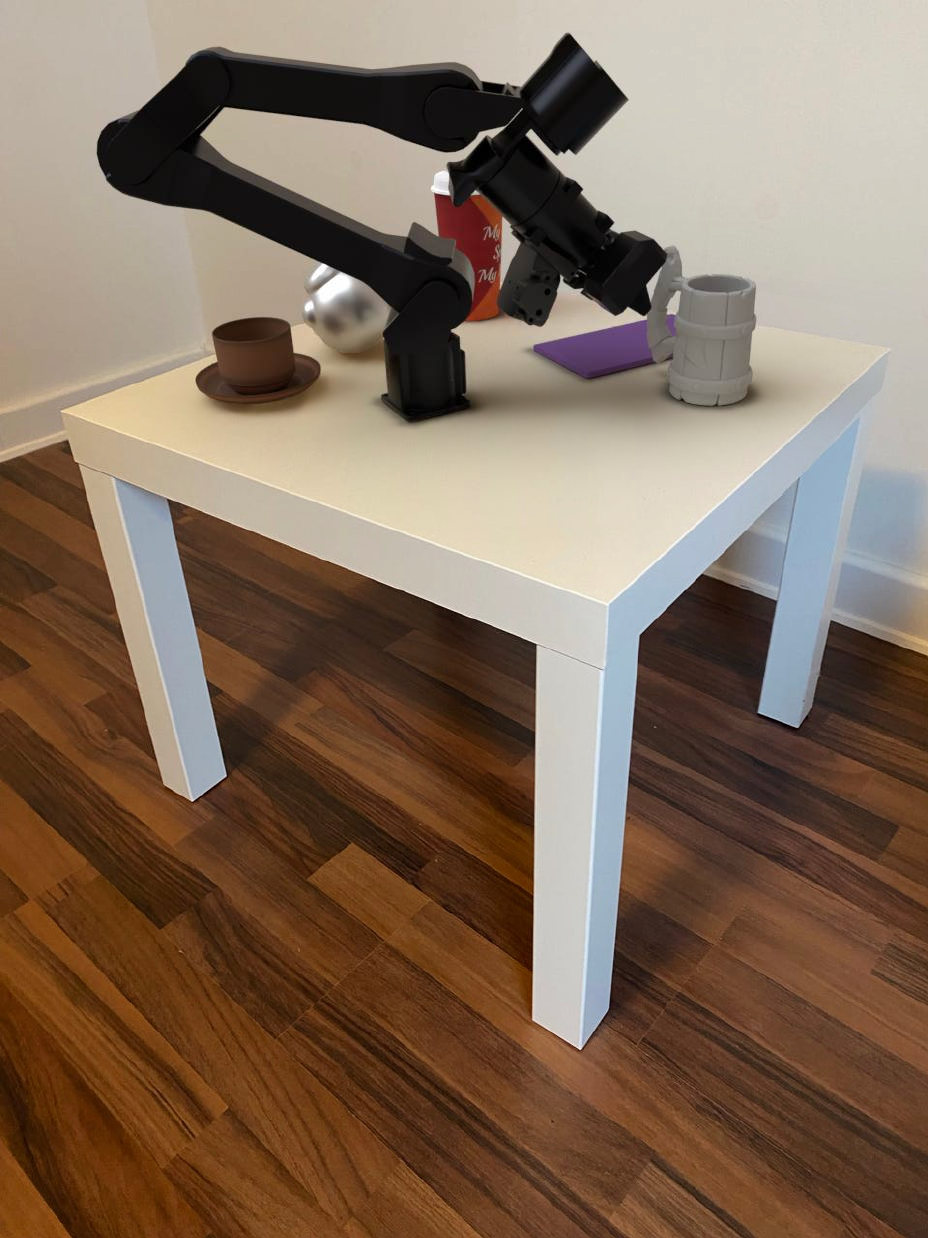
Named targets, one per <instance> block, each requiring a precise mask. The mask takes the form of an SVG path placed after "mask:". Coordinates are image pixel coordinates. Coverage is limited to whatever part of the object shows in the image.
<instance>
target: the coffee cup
mask: <svg viewBox="0 0 928 1238" xmlns="http://www.w3.org/2000/svg"><path fill="white" fill-rule="evenodd" d="M448 185H449V173H448V170H447V169H445V170H441V171H439V172H436V173H435V174H434V176H433V185H431V187H430V192H432V193H433V196H434V206H435V207H434V208H435V214H436V215H435V216H436V224H437V233H438V235H437V236H439V237H442V238H445V239H455V240H456V244H455V248H456V249H458V250H459V251H461V252H462V253H464V254H465V255H466V257H467V258H468V259H469V261H470V263H471V266H472V268H473V271H474V278H475V285H474V294H473V303H472V307H471V310H470V313H469V315H468V316H467V318H466V319H465V321H464V322H476V321H477V322H478V321H484V320H489V319H492V318H495V317H496V316H497V315H498V314H499V312H500V309H499V308H498V306H497V297H498V294H499V291H500V289H501V272H502V271H501V270H502V245H503V244H502V243H503V241H502V240H503V216H502V215H501V214H500V213H498V212H497V211H496V210H495V209H494V208H493V207H492V206H491V205H490V204H489V203H488V202H487V201H486V200H485V199H484V198H483V197H482V196H481V195H480V194H479V193H478V192H477V191H476V190H475V191H474V192H473V193H472V194H471V196H470V197H469V198H468V199H467V200H466V201H465V202H464V203H463V204H462V205H461V206H460V207H455V206H454V205H453V202H452V199H451V196H450V193H449V190H448Z"/></svg>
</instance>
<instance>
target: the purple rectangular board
mask: <svg viewBox="0 0 928 1238" xmlns="http://www.w3.org/2000/svg"><path fill="white" fill-rule="evenodd" d="M674 321H675V314H674V313H669V314H667V319H666V322H667V326H668V327H669V330H670V332H671V334H672V336H673V337H675V336H676V329H675V328H674ZM533 351H534V352H536V353H538V354H540V355H541V356H544V357H545V358H548V359H549V360H551V361H553V362H555V363H556V364H558V365H560V366H562V367H564V368H565V369H568V370H570V371H572V372H574V373H576V374H578V375H579V376H582V377H583V378H585V379H587V380H588V379H593V378H596V377H601V376H604V375H608V374H613V373H617V372H621V371H626V370H629V369H633V368H636V367H642V366H645V365H649V364H654V363H655V362H654V361H653V356H652V351H651V348H649V347H648V342H647V319H642V320H638V321H633V322H629V323H625V324H624V323H623V324H621V325H616V326H611V327H606V328H603V329H602V328H601V329H598V330H594V331H589V332H585V333H579V334H575V335H571V336H567V337H563V338H559V339H554V340H548V341H545V342H541V343H535V344H533ZM669 359H673V353H672V354H670V355H669V356H668V357H667V358H666V359H665V360H664V361H666V360H669Z"/></svg>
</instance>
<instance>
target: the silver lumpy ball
mask: <svg viewBox="0 0 928 1238" xmlns="http://www.w3.org/2000/svg"><path fill="white" fill-rule="evenodd" d="M303 288H304V290H305V292H306V293H307V296H306V298H305V299H304V302H303V304H302V307H301V317H302V320H303V322H304V323H305V325H306V326H308V327H309V328H311V329H312V331H313V332H314V334H315V335H316V336H317V337H318V338H319V339H320V341H322V343H323V344H324V345H325V346H326V347H328V348H330V349H331V350H334V351H337V352H340V353H344V354H359V353H364V352H366V351H369V350H371V349H373V348H374V347H376V346H377V345H378V344H379V343H380V342H382V341H383V339H384V337H383V330H384V327H385V324H386V321H387V319H388V316H389V313H390V310H391V307H390V306H389V305H388V304H387V303H386V302H385V301H384V300H383V299H382V298H381V297H380V296H379V295H378V294H377V293H375V292H374V291H373V290H372V289H371V288H370V287H369V286H368V285H366V284H365V283H364V282H362V281H360V280H358V279H356V278H353V277H351V276H349V275H347V274H345V273H342V272H340V271H338V270H336V269H334V268H331V267H329V266H327V265H325V264H323V263H320V262H318V261H316V262H315V264H314V265H313V266H312V269H311V271H310V273H309V275H308V276H306V278H304V281H303Z"/></svg>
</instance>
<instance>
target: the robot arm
mask: <svg viewBox="0 0 928 1238" xmlns="http://www.w3.org/2000/svg"><path fill="white" fill-rule="evenodd" d="M629 100H630V99H629V98H628V97H627V95H626V94H625V93H624V92H623V91H622V89H621V88H620V87H619V86H618V85H617V83H616V82H615V81H614V80H613V78H612V77H611V76H610V75H609V74H608V72H607V71H606V70H605V68H603V66H602V65H601V64H600V63H599V62H598V60H596V59H595V60H593V59H592V58H591V56H590V55H589V54H588V53H587V52H586V51H585V49H584V48H583V47H582V46H581V45H580V43H579V42H578V41H577V39H576V38H574V36H573V34H572V33H571V32H565V33H564V34H563V35H562V36H561V37H560V39H558V40H557V42H556V43H555V45H554V46H553V47H552V50H551V51H550V54H549V55H548V56H547V57H546V58H545V60H544V61H543V62H542V63H541V64H540V65H539V66H538V67H537V69H535V71H534V72H533V73H532V74H531V75H530V76H529V77H528V79H526V81H525V82H524V83H523V84H522V85H521V86H519V85H515V84H514V85H513V84H510V82H508V81H507V82H506V83H500V82H493V81H486V80H481V79H480V78H479V76H478V75H477V73H476V72H475V71H474V70H473V69H472V68H471V67H469V66H467V65H466V64H462V63H460V62H456V61H447V62H434V63H433V62H432V63H420V64H419V63H418V64H409V65H408V64H407V65H401V66H394V67H393V66H392V67H383V68H381V67H380V68H364V67H356V66H348V65H343V64H342V65H341V64H333V63H325V62H317V61H309V60H300V59H292V58H284V57H277V56H268V55H262V54H261V55H260V54H253V53H244V52H239V51H238V52H236V51H233V50H230V49H228V48H226V47H223V46H211V47H207V48H204V49H201V50H198V51H197V52H194V53H193V54H191V55H190V56H189V58H188V59H187V60H186V62H185V64H184V66H183V67H182V68H181V70H179V71H178V73H176V74H175V76H174V77H173V78H171V80H170V81H168V82H167V83H166V84H165V85H164V86H163V87H162V88H161V89H160V90H159V91H158V92H157V93H155V95H154V96H152V97H151V98H150V99H149V100H148V101H147V102H146V103H145V104H144V105H143V106H142V107H141V108H140V109H138V110H136V111H133V112H131V113H129V114H126V115H124V116H121V117H119V118H117V119H115V120H112V121H111V122H108V123H107V124H106V125H105V127H103V128H102V129H101V131H100V133H99V136H98V139H97V141H96V157H97V161H98V166H99V168H100V170H101V171H102V173H103V175H104V178H105V181H106V182H107V183H108V185H110V186H111V187H112V188H113V189H114V190H116V191H118V192H119V193H121V194H123V195H125V196H128V197H131V198H135V199H138V200H142V201H146V202H151V203H154V204H158V205H161V206H165V207H174V208H181V209H190V210H199V211H203V212H208V213H210V214H213V215H215V216H217V217H219V218H221V219H224V220H226V221H228V222H230V223H233V224H235V225H237V226H239V227H241V228H244V229H246V230H247V231H250V232H253V233H255V234H256V235H259V236H261V237H264V238H265V239H268V240H270V241H272V242H275V243H277V244H278V245H281V246H283V247H285V248H288V249H290V250H292V251H294V252H297V253H299V254H301V255H303V256H305V257H307V258H309V259H311V260H314V261H316V262H317V261H318V262H320V263H323V264H325V265H327V266H329V267H331V268H334V269H336V270H338V271H340V272H342V273H345V274H347V275H349V276H351V277H353V278H356V279H358V280H360V281H362V282H364V283H365V284H366V285H368V286H369V287H370V288H371V289H372V290H373V291H374V292H375V293H377V294H378V295H379V296H380V297H381V298H382V299H383V300H384V301H385V302H386V303H387V304H388V305H389V306H390V307H391V310H390V313H389V316H388V319H387V321H386V324H385V327H384V330H383V339H382V345H383V346H382V347H383V355H384V366H385V367H384V369H385V378H386V379H385V380H386V389H387V392H385V393H382V394H381V395H380V400H381V401H382V402H383V403H384V404H385V405H387V407H389V408H391V409H392V410H393V411H394V412H396V413H397V414H398V415H400V416H401V417H402V418H404V419H405V420H406V421H408V422H414V421H418V420H422V419H423V420H424V419H426V418H430V417H435V416H439V415H444V414H446V413H447V414H448V413H451V412H454V411H459V410H462V409H467V408H470V407H471V406H472V401H471V399H469V398H468V397H466V396H464V395H466V394H467V390H468V389H467V388H468V386H467V366H466V365H467V364H466V362H467V361H466V351H464V349H462V348H461V336H460V335H458V334H457V333H455V332H453V331H452V330H454V329H457V328H458V327H459V326H460V325H462V324H463V323H464V322H466V321H465V319H466V318H467V316H468V315H469V313H470V310H471V307H472V303H473V294H474V285H475V278H474V271H473V268H472V266H471V263H470V261H469V259H468V258H467V257H466V255H465V254H464V253H462V252H461V251H459V250H458V249H456V248H455V244H456V240H455V239H445V238H442V237H439V235H437V234H434V232H432V231H430V230H429V229H428V228H426V227H424V226H423V225H422V224H420V223H417V222H415V221H413V222H411V225H410V228H409V230H408V233H407V236H405V235H397V234H389V233H385V232H381V231H379V230H377V229H375V228H374V227H373V228H372V227H371V226H369V225H367V224H364V223H362V222H361V221H357V220H356V219H354V218H351V217H349V216H347V215H345V214H343V213H341V212H339V211H336V210H334V209H332V208H329V207H328V206H326V205H323V204H321V203H319V202H317V201H316V200H313V199H310V198H309V197H306V196H304V195H302V194H300V193H297V192H295V191H293V190H291V189H289V188H287V187H285V186H282V185H281V184H278V183H276V182H274V181H272V180H270V179H269V178H266V177H263V176H262V175H260V174H257V173H256V172H253V171H251V170H249V169H247V168H245V167H242V166H240V165H238V164H236V163H233V162H232V161H230V159H227V158H226V157H225V156H224V155H223V154H221V152H220V151H218V149H216V147H214V145H212V144H211V143H210V142H209V141H208V140H206V139H205V137H203V135H202V134H203V133H204V132H205V131H206V130H207V128H209V126H210V125H211V124H212V123H213V121H215V119H217V117H218V116H219V115H220V114H221V113H222V111H223V110H225V108H227V109H234V110H241V111H243V110H244V111H251V112H260V113H268V114H276V115H283V116H292V117H300V118H306V119H314V120H315V119H317V120H324V121H331V122H332V121H333V122H340V123H348V124H355V125H356V124H357V125H363V126H367V127H370V128H374V129H376V130H379V131H382V132H384V133H386V134H388V135H391V136H393V137H396V138H398V139H400V140H402V141H405V142H408V143H411V144H415V145H418V146H421V147H424V148H427V149H429V150H433V151H436V152H440V153H446V154H448V153H458V152H459V151H462V150H464V149H465V148H467V147H468V146H469V145H471V144H472V143H473V142H474V141H475V140H476V139H477V137H478V136H479V134H480V133H482V132H486V131H491V130H495V129H500V128H503V127H504V128H503V129H502V130H501V131H499V132H498V133H497V134H495V135H494V136H493V137H491V136H490V135H488V134H486V135H485V136H484V137H483V138H482V139H481V140H480V141H479V142H478V143H477V145H476V146H475V147H474V148H473V149H472V150H471V151H470V153H468V155H467V156H466V157H465V158H463V159H462V160H458V161H448V162H447V163H446V165H445V167H446V170H448V173H449V185H448V190H449V193H450V196H451V199H452V202H453V205H454V206H455V207H460V206H461V205H462V204H463V203H464V202H465V201H466V200H467V199H468V198H469V197H470V196H471V194H472V193H473V192H474V191H475V190H476V191H477V192H478V193H479V194H480V195H481V196H482V197H483V198H484V199H485V200H486V201H487V202H488V203H489V204H490V205H491V206H492V207H493V208H494V209H495V210H496V211H497V212H498V213H500V214H501V215H502V218H503V219H504V220H506V222H507V223H508V224H510V226H509V228H510V229H511V230H512V231H511V232H510V234H511V235H512V236H513V237H514V238H515V239H516V240H517V241H518V242H519V245H518V247H517V248H516V249H517V250H516V252H515V254H514V256H512V259H511V260H510V263H509V266H508V268H507V271H506V273H505V276H504V278H503V280H502V284H501V285H500V291H499V294H498V297H497V306H498V308H499V310H500V311H502V312H503V313H504V314H505V315H507V316H508V317H509V318H512V319H515V320H517V321H521V322H524V324H527V325H528V326H531V327H532V326H535V327H538V328H542V327H544V326H545V325H546V323H547V321H548V319H549V317H550V314H551V312H552V309H553V307H554V305H555V302H556V300H557V297H558V290H559V288H560V285H561V278H562V282H563V284H565V285H567V286H568V287H570V288H571V289H573V290H581V291H580V292H579V293H580V294H581V295H582V296H584V297H585V298H587V299H588V300H590V301H592V302H593V301H594V302H595V303H596V304H597V305H598V306H600V307H601V308H602V309H603V310H605V311H607V312H608V313H609V314H611V315H612V316H615V317H617V316H619V315H621V314H624V312H625V311H626V310H627V309H628V308H629V309H630V310H632V311H634V312H635V313H637V314H638V315H640V316H642V317H647V313H648V312H649V311H650V310H651V308H652V305H651V298H650V295H649V290H648V287H647V285H648V284H649V283H650V281H651V280H652V279H653V278H654V277H655V276H656V274H657V273H658V272H659V271H660V270H661V269H662V266H663V265H664V263H665V262H666V259H667V255H668V254H667V253H666V252H665V251H664V248H663V247H662V246H661V245H660V244H659V242H657V241H656V240H655V239H654V238H652V237H650V236H648V235H646V234H644V233H642V232H640V231H637V230H629V231H621V232H617V231H615V230H613V229H611V228H612V227H613V225H614V224H615V221H614V220H613V219H612V218H611V217H610V216H609V214H607V213H605V212H604V211H601V210H597V209H596V207H595V206H594V205H593V204H592V202H590V201H589V200H588V199H587V198H586V197H585V196H584V195H583V194H582V192H583V191H584V188H583V187H582V186H581V184H580V183H579V182H578V181H576V180H575V179H572V178H570V177H567V176H566V175H565V174H564V173H563V172H562V171H561V170H560V169H559V168H558V167H557V166H556V165H555V164H554V163H553V162H552V161H551V160H550V158H548V156H547V155H546V154H545V153H544V152H543V150H541V149H540V148H539V147H538V146H537V145H536V144H535V142H533V141H532V139H530V137H529V136H528V135H527V134H528V133H529V132H530V131H532V132H533V133H534V134H535V135H536V136H537V138H539V140H540V141H541V142H542V143H543V144H544V146H546V147H547V149H548V150H549V151H551V153H552V154H554V155H555V156H556V157H558V156H559V155H560V154H561V153H562V154H563V155H565V154H566V153H567V152H568V151H570V152H571V153H572V154H573V155H575V156H577V155H578V154H579V153H580V152H581V151H582V150H583V149H584V148H585V147H586V146H587V145H588V144H589V142H590V141H592V139H593V138H594V137H595V136H596V135H597V134H599V132H600V131H601V130H602V129H603V128H604V127H605V126H606V124H608V123H609V122H610V120H612V118H613V117H614V116H615V115H616V114H617V113H619V111H620V110H621V109H622V108H623V107H624V106H625V105H626V104H627V103H628V101H629Z"/></svg>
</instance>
